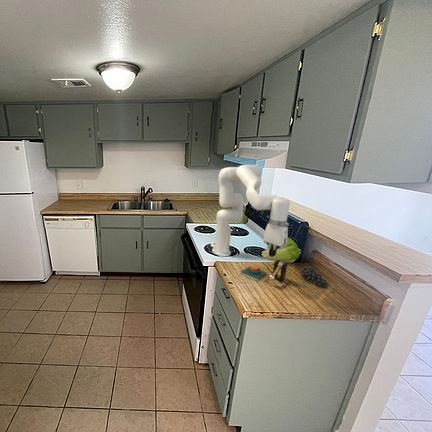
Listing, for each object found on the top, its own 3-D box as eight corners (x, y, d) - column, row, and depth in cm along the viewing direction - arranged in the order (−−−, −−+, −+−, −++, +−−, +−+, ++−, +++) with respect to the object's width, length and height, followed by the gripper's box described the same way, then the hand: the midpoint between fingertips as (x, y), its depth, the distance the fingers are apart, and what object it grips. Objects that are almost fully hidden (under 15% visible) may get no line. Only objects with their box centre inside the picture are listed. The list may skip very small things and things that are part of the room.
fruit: (333, 275, 123) (308, 261, 137) (319, 281, 123) (296, 267, 137) (333, 288, 126) (309, 274, 140) (320, 294, 126) (297, 279, 140)
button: (249, 269, 140) (249, 266, 140) (252, 267, 143) (253, 264, 142) (255, 272, 137) (256, 269, 137) (259, 269, 140) (259, 267, 139)
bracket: (281, 288, 128) (285, 268, 124) (264, 281, 134) (267, 262, 131) (290, 281, 135) (294, 262, 132) (274, 275, 142) (277, 256, 138)
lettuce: (269, 270, 154) (258, 261, 170) (308, 260, 152) (294, 251, 168) (264, 249, 152) (254, 241, 167) (304, 238, 150) (290, 231, 165)
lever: (273, 283, 127) (273, 279, 125) (267, 280, 129) (267, 276, 127) (285, 266, 132) (284, 262, 130) (278, 264, 134) (278, 260, 133)
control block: (240, 274, 142) (241, 268, 141) (249, 269, 148) (250, 263, 147) (257, 281, 134) (258, 275, 133) (266, 275, 140) (267, 269, 139)
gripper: (296, 225, 117) (290, 259, 123) (267, 218, 129) (262, 249, 135) (289, 228, 113) (282, 263, 119) (259, 220, 125) (254, 252, 131)
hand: (271, 255), depth 127 cm, fingers closed
